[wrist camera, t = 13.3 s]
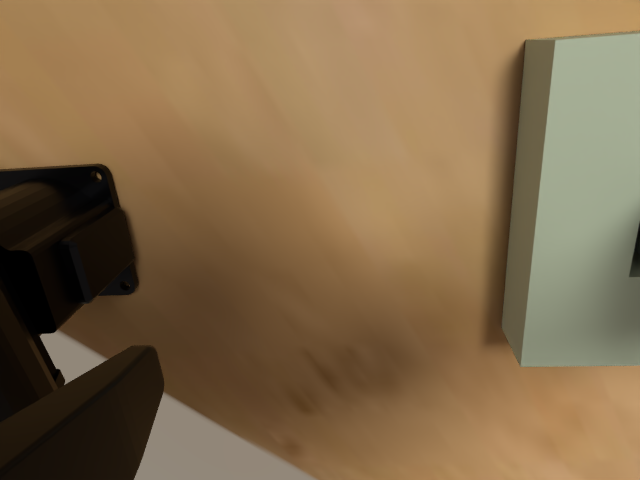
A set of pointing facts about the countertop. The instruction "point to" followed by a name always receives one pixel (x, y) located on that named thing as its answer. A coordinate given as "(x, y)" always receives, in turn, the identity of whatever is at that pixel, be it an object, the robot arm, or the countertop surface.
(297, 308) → the countertop surface
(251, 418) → the countertop surface
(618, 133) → the square holed base
